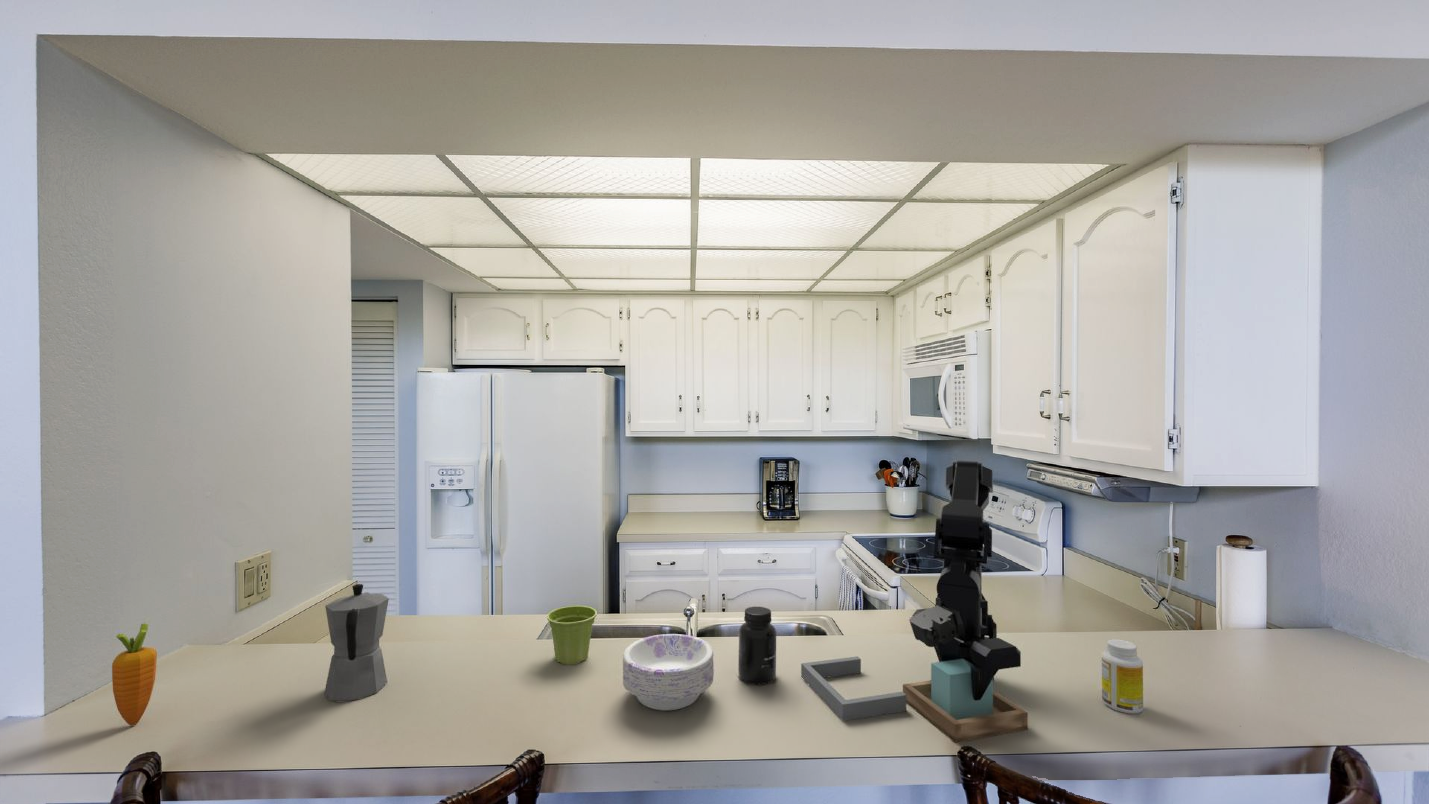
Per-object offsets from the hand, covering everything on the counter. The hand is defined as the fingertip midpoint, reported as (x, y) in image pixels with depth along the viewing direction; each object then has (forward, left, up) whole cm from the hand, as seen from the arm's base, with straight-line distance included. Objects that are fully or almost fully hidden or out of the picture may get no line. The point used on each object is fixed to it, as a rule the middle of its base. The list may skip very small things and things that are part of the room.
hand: (962, 690), depth 93 cm
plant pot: (+59, -38, -4) cm, 70 cm away
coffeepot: (+95, -34, -4) cm, 101 cm away
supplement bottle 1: (+27, -21, -4) cm, 34 cm away
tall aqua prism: (0, 0, -3) cm, 3 cm away
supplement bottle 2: (-27, +5, -4) cm, 28 cm away
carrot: (+124, -31, -4) cm, 128 cm away
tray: (0, 0, -4) cm, 4 cm away
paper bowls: (+44, -18, -4) cm, 48 cm away
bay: (+13, -11, -4) cm, 17 cm away
